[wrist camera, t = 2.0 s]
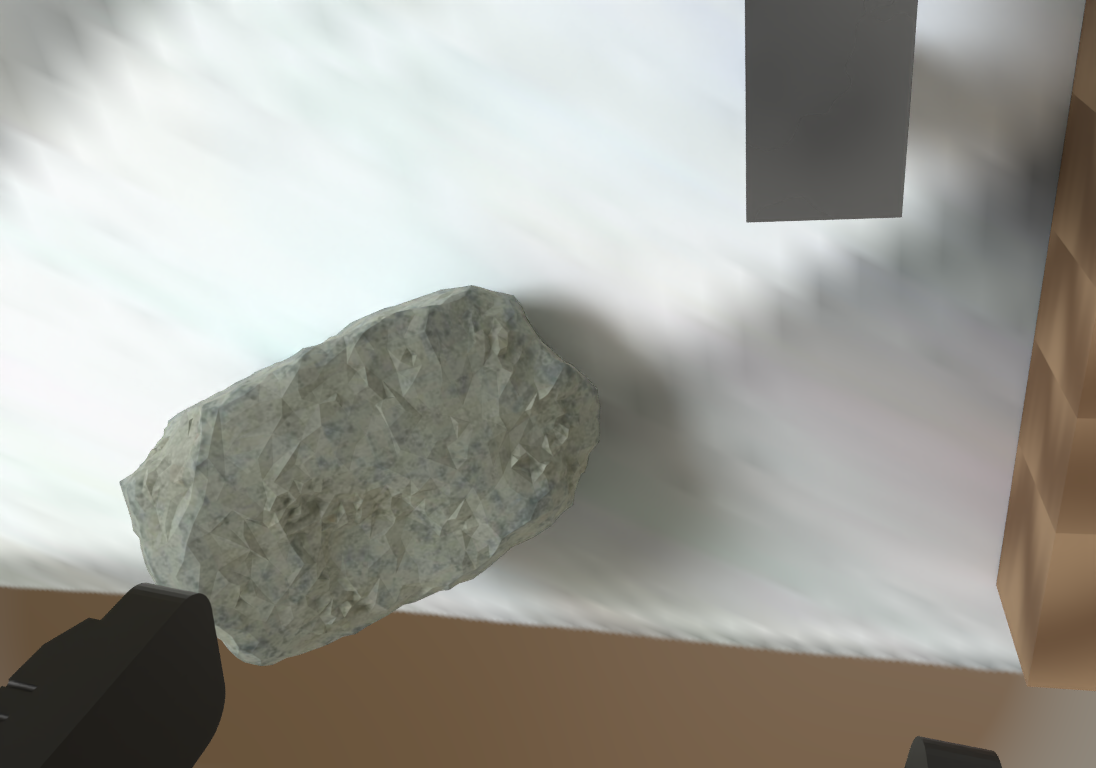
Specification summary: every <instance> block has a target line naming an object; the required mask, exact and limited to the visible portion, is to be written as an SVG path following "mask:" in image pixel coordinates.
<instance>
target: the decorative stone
mask: <svg viewBox="0 0 1096 768" xmlns="http://www.w3.org/2000/svg"><path fill="white" fill-rule="evenodd" d="M599 418H600V404H599V400H598V390H597V389H596V388H595V387H594V386H593V384H592V383H591V382H590V381H589V379H588V378H587V377H586V376H584V375H583V374H582V373H580V372H579V371H578V370H577V369H576V368H575V367H574V366H573V365H571V364H569V363H566V362H564V361H563V360H562V359H561V358H560V357H559V356H558V355H556V354H555V353H554V352H553V351H552V350H551V349H550V348H549V347H548V346H547V345H545V344H544V343H543V342H542V341H541V340H540V338H539V337H538V335H537V334H536V332H535V331H534V329H533V328H532V326H531V325H530V323H529V321H528V320H527V318H526V316H525V313H524V311H523V309H522V307H521V305H520V304H519V302H518V301H517V300H516V298H515V297H514V296H513V295H509V294H504V293H499V292H494V291H490V290H487V289H484V288H481V287H477V286H472V285H470V286H466V287H458V288H451V289H444V290H439V291H436V292H434V293H431V294H428V295H425V296H422V297H419V298H416V299H413V300H411V301H408V302H405V303H402V304H399V305H396V306H392V307H388V308H384V309H382V310H379V311H377V312H375V313H372V314H370V315H368V316H365V317H363V318H361V319H359V320H356V321H354V322H352V323H350V324H349V325H348V326H346V327H345V328H344V329H343V330H342V331H340V332H339V333H338V334H337V335H336V336H333V337H330V338H328V339H327V340H326V341H325V342H323V343H322V344H319V345H316V346H311V347H307V348H303V349H301V350H300V351H299V352H298V353H296V354H295V355H293V356H291V357H290V358H288V359H286V360H284V361H282V362H278V363H275V364H273V365H271V366H269V367H266V368H264V369H261V370H259V371H257V372H255V373H254V374H252V375H251V376H249V377H247V378H245V379H243V380H240V381H238V382H236V383H234V384H233V385H231V386H230V387H228V388H226V389H225V390H223V391H220V392H218V393H216V394H214V395H212V396H211V397H209V398H207V399H205V400H203V401H201V402H199V403H197V404H195V405H193V406H191V407H189V408H187V409H186V410H184V411H182V412H180V413H178V414H177V415H176V416H174V417H173V418H172V419H170V420H169V421H168V426H167V427H166V428H165V429H164V435H163V437H162V438H161V439H160V440H159V441H158V443H157V444H156V446H155V447H154V449H152V450H151V452H150V453H149V455H148V457H147V459H146V460H145V461H144V462H143V463H142V464H141V465H140V467H139V468H138V469H137V470H136V471H135V472H134V473H133V474H131V475H130V476H128V477H126V478H125V479H123V480H122V481H120V485H121V489H122V492H123V495H124V498H125V501H126V504H127V507H128V510H129V514H130V517H131V520H132V526H133V531H134V532H135V533H136V535H137V536H138V537H139V538H140V546H141V550H142V554H143V558H144V561H145V564H146V567H147V570H148V572H149V573H150V575H151V577H152V578H153V580H154V582H155V584H156V585H160V586H165V587H170V588H176V589H181V590H186V591H191V592H196V593H201V594H204V595H205V596H207V598H208V599H209V601H210V603H211V607H212V612H213V618H214V623H215V629H216V635H217V638H219V639H221V640H222V641H223V642H224V644H225V645H226V647H227V648H228V649H229V650H230V651H231V652H232V653H233V654H234V655H235V656H236V657H237V658H239V659H240V660H242V661H243V662H246V663H251V664H255V665H260V666H264V665H273V664H275V663H277V662H279V661H281V660H283V659H285V658H287V657H291V656H295V655H300V654H303V653H306V652H308V651H311V650H314V649H317V648H319V647H322V646H325V645H328V644H329V643H331V642H333V641H335V640H337V639H339V638H341V637H343V636H348V635H352V634H356V633H358V632H359V631H361V630H362V629H364V628H365V627H367V626H369V625H371V624H372V623H374V622H376V621H378V620H379V619H381V618H383V617H385V616H387V615H389V614H390V613H391V612H393V611H395V610H396V609H398V608H399V607H401V606H402V605H404V604H409V603H413V602H416V601H418V600H421V599H423V598H425V597H427V596H429V595H432V594H434V593H436V592H438V591H442V590H449V589H451V588H453V587H454V586H456V585H457V584H459V583H462V582H465V581H468V580H471V579H474V578H475V577H476V576H478V575H479V574H480V573H482V572H483V571H484V570H486V569H487V568H488V567H490V566H491V565H492V564H493V563H494V562H495V561H497V560H498V559H499V558H500V557H501V556H502V555H504V554H505V553H506V552H507V551H508V550H509V549H510V548H511V547H513V546H515V545H518V544H520V543H522V542H524V541H526V540H528V539H531V538H533V537H534V536H536V535H538V534H539V533H541V532H542V531H544V530H545V529H547V528H549V527H550V526H551V525H552V524H553V523H554V522H555V521H556V520H557V518H558V517H559V516H560V515H561V514H562V513H563V512H564V511H565V510H567V509H568V508H569V507H571V506H572V505H573V501H574V494H575V490H576V487H577V484H578V481H579V478H580V476H581V473H584V472H585V469H586V466H587V463H588V458H589V454H590V452H591V451H592V450H593V449H594V448H595V446H596V445H597V443H598V442H599V438H600V428H599Z"/></svg>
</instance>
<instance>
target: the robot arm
mask: <svg viewBox="0 0 1096 768" xmlns="http://www.w3.org/2000/svg"><path fill="white" fill-rule="evenodd" d="M224 703H225V683H224V677H223V671H222V665H221V659H220V653H219V647H218V642H217V635H216V629H215V623H214V618H213V612H212V607H211V603H210V601H209V599H208V598H207V596H205V595H204V594H201V593H196V592H191V591H186V590H181V589H176V588H170V587H165V586H160V585H155V584H150V583H141V584H138V585H136V586H135V587H133V588H132V589H131V590H129V591H128V592H127V593H126V594H125V595H124V596H123V597H122V599H121V600H120V601H119V602H118V603H117V604H116V605H115V606H114V607H113V608H112V609H111V610H110V611H109V612H108V613H107V614H106V615H105V616H104V618H102V619H101V620H97V619H92V618H88V619H86V620H84V621H83V622H81V623H79V624H78V625H76V626H74V627H73V628H71V629H69V630H67V631H66V632H64V633H63V634H61V635H59V636H57V637H55V638H54V639H52V640H51V641H49V642H47V643H45V644H44V645H43V646H42V647H41V648H40V649H39V650H38V651H37V652H36V653H35V654H34V655H33V656H32V657H31V658H30V659H29V660H28V661H27V662H26V663H25V664H24V665H22V666H21V668H19V669H18V670H17V672H15V674H13V675H12V677H10V679H9V683H8V685H7V686H6V687H3V686H2V687H1V688H0V768H192V767H193V766H194V764H195V763H196V762H197V760H198V759H199V757H200V756H201V754H202V753H203V751H204V750H205V748H206V747H207V746H208V744H209V743H210V741H211V739H212V737H213V736H214V734H215V732H216V730H217V727H218V725H219V722H220V719H221V716H222V712H223V708H224ZM905 768H1002V766H1001V763H1000V760H999V758H998V756H997V754H996V753H995V752H994V751H991V750H986V749H981V748H976V747H970V746H966V745H960V744H955V743H950V742H945V741H939V740H935V739H930V738H925V737H920V736H917V737H916V738H915V739H914V741H913V743H912V745H911V748H910V751H909V754H908V758H907V761H906V764H905Z"/></svg>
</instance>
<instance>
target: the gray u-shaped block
mask: <svg viewBox="0 0 1096 768" xmlns="http://www.w3.org/2000/svg"><path fill="white" fill-rule="evenodd" d="M917 5H918V0H745V69H746V222H774V221H804V220H834V219H864V218H895V217H902V206H903V193H904V179H905V166H906V152H907V139H908V126H909V112H910V99H911V86H912V72H913V59H914V45H915V32H916V19H917Z"/></svg>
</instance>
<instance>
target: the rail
mask: <svg viewBox="0 0 1096 768" xmlns="http://www.w3.org/2000/svg"><path fill="white" fill-rule="evenodd" d="M996 586H997V589H998V592H999V596H1000V599H1001V602H1002V606H1003V609H1004V612H1005V615H1006V619H1007V622H1008V625H1009V628H1010V632H1011V635H1012V638H1013V641H1014V645H1015V648H1016V651H1017V655H1018V658H1019V661H1020V664H1021V668H1022V671H1023V674H1024V677H1025V681H1026V684H1027V686H1030V687H1046V688H1060V689H1075V690H1089V691H1096V0H1086V4H1085V11H1084V17H1083V24H1082V30H1081V37H1080V43H1079V50H1078V56H1077V63H1076V69H1075V76H1074V82H1073V89H1072V95H1071V102H1070V108H1069V115H1068V121H1067V128H1066V134H1065V141H1064V147H1063V154H1062V160H1061V167H1060V173H1059V180H1058V186H1057V193H1056V199H1055V206H1054V212H1053V219H1052V225H1051V232H1050V238H1049V245H1048V251H1047V258H1046V264H1045V271H1044V278H1043V284H1042V291H1041V297H1040V304H1039V310H1038V317H1037V323H1036V330H1035V336H1034V343H1033V349H1032V356H1031V362H1030V369H1029V375H1028V382H1027V388H1026V395H1025V401H1024V408H1023V414H1022V421H1021V427H1020V434H1019V440H1018V447H1017V453H1016V460H1015V466H1014V473H1013V479H1012V486H1011V492H1010V499H1009V505H1008V512H1007V518H1006V525H1005V531H1004V538H1003V544H1002V551H1001V557H1000V564H999V570H998V577H997V583H996Z"/></svg>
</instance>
